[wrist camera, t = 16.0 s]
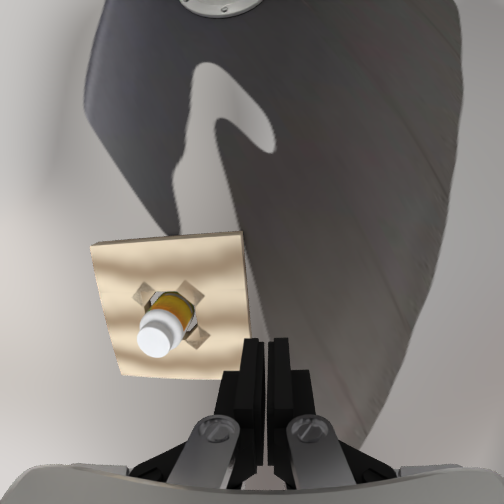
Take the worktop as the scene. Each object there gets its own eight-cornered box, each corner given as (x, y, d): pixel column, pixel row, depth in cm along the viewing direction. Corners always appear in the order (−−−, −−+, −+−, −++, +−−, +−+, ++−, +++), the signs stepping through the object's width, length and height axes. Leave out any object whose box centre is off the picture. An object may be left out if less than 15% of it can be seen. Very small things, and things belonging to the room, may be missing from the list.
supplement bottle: (160, 284, 42) (132, 315, 33) (198, 295, 42) (179, 329, 33) (155, 318, 44) (129, 354, 34) (191, 329, 44) (172, 369, 34)
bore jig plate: (98, 241, 41) (89, 246, 39) (242, 230, 40) (240, 235, 37) (127, 366, 46) (121, 375, 44) (254, 369, 45) (253, 379, 42)
